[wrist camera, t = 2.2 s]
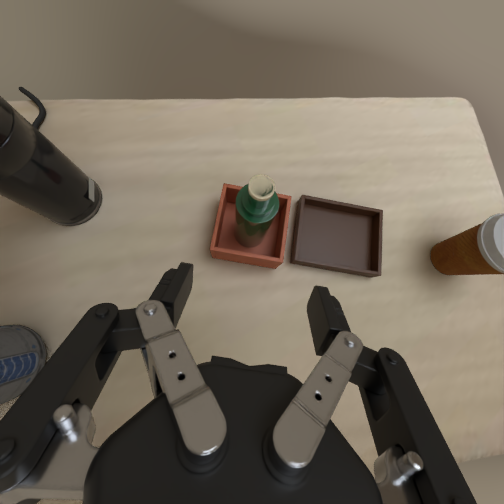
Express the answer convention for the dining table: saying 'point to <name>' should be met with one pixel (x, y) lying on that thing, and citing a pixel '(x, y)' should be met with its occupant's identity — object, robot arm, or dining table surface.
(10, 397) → the beverage bottle
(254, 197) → the bottle
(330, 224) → the tray
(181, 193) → the dining table surface
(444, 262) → the disposable coffee cup
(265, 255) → the bin
